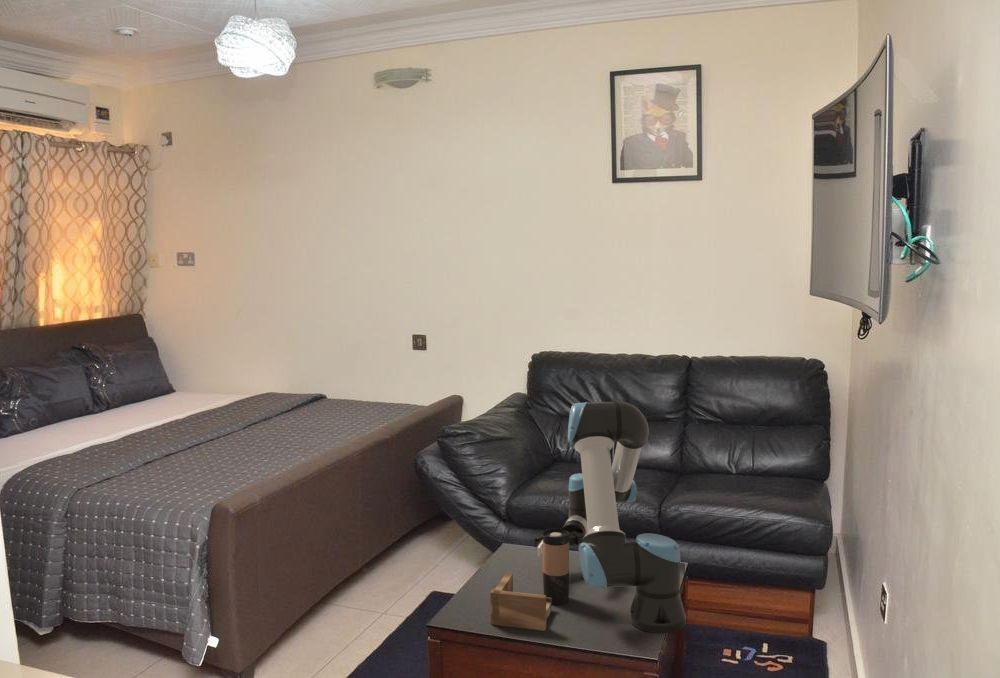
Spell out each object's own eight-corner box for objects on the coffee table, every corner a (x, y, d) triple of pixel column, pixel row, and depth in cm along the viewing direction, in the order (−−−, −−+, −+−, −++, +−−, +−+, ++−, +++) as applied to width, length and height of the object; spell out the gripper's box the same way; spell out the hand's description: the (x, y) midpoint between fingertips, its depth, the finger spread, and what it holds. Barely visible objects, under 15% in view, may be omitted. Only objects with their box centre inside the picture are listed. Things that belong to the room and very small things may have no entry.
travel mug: (574, 597, 243) (573, 531, 240) (561, 607, 236) (561, 539, 234) (550, 592, 247) (550, 526, 245) (538, 601, 240) (537, 534, 238)
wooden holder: (504, 603, 239) (504, 573, 238) (555, 608, 235) (555, 578, 234) (490, 624, 226) (490, 592, 225) (544, 630, 222) (544, 598, 221)
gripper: (613, 545, 265) (602, 570, 244) (536, 539, 271) (520, 562, 251) (613, 522, 264) (602, 545, 243) (536, 516, 271) (519, 538, 250)
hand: (560, 554), depth 247 cm, fingers open, 13 cm apart
